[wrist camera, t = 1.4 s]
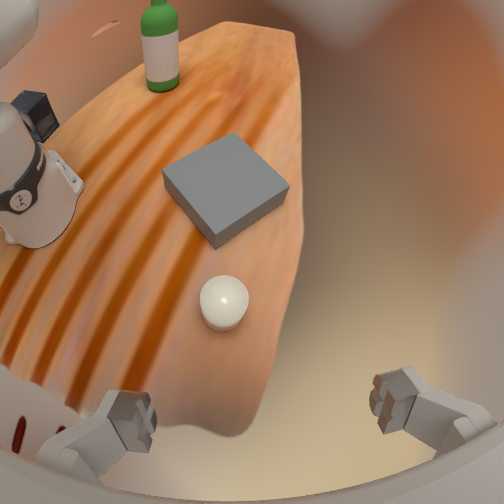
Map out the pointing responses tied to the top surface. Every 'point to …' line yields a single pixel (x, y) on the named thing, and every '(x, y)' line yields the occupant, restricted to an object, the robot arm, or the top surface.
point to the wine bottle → (160, 46)
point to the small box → (36, 114)
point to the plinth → (224, 188)
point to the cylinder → (223, 302)
